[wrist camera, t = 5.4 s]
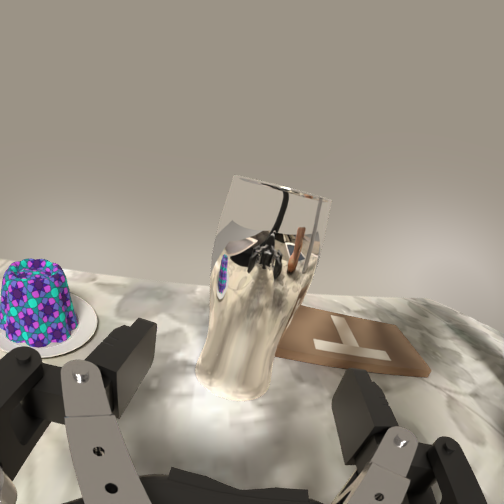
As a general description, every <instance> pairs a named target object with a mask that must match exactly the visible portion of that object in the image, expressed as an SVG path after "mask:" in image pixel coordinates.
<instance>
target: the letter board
mask: <svg viewBox="0 0 504 504" xmlns="http://www.w3.org/2000/svg"><path fill="white" fill-rule="evenodd" d="M275 356H276V357H281V358H286V359H291V360H296V361H302V362H307V363H313V364H319V365H324V366H331V367H337V368H344V369H348V368H356V369H363V370H366V371H367V372H374V373H383V374H392V375H403V376H415V377H428V376H429V374H430V372H431V369H430V368H429V366H428V365H427V364H426V363H425V361H424V360H423V359H422V357H421V356H420V355H419V354H418V352H417V351H416V350H415V348H414V347H413V346H412V345H411V343H410V342H409V341H408V340H407V338H406V337H405V336H404V335H403V333H402V332H401V331H400V330H399V329H398V327H397V326H396V325H392V324H387V323H382V322H377V321H372V320H367V319H362V318H357V317H352V316H347V315H342V314H338V313H333V312H329V311H324V310H319V309H315V308H310V307H306V306H302V305H300V307H299V309H298V311H297V313H296V314H295V316H294V318H293V320H292V322H291V323H290V325H289V327H288V329H287V330H286V332H285V334H284V336H283V338H282V340H281V342H280V344H279V346H278V348H277V351H276V354H275Z"/></svg>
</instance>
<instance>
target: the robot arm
mask: <svg viewBox="0 0 504 504" xmlns="http://www.w3.org/2000/svg"><path fill="white" fill-rule="evenodd" d="M156 332H157V324H156V323H154V322H151V321H148V320H145V319H142V318H138V319H137V320H136V321H135V322H134V323H133V324H132V326H131V327H129V326H126V325H123V326H121V327H118V328H116V329H114V330H113V331H112V332H111V333H110V334H109V335H108V337H106V338H105V339H104V340H103V342H101V343H100V344H99V345H98V346H97V347H96V348H95V350H94V351H93V352H92V353H91V354H90V355H89V356H88V357H87V358H86V359H85V360H73V361H69V362H67V363H66V364H65V365H64V366H63V367H58V366H53V365H49V364H45V363H42V359H41V355H40V354H39V352H38V351H37V350H35V349H33V348H31V347H24V346H22V347H17V348H14V349H12V350H11V351H10V352H8V353H7V354H6V355H5V356H4V357H3V358H2V359H0V504H16V501H17V490H16V487H15V485H14V484H13V482H12V481H13V480H14V478H15V476H16V475H17V473H18V472H19V470H20V468H21V467H22V465H23V464H24V462H25V460H26V459H27V457H28V456H29V454H30V453H31V451H32V450H33V448H34V447H35V445H36V443H37V442H38V440H39V439H40V437H41V436H42V435H43V433H44V432H45V430H46V429H47V427H48V426H49V424H50V423H51V421H52V422H56V423H60V424H64V425H65V426H66V431H67V437H68V442H69V447H70V452H71V456H72V461H73V465H74V469H75V473H76V476H77V480H78V484H79V487H80V490H81V494H82V498H79V499H76V500H73V501H70V502H66V503H63V504H323V503H321V502H319V501H316V500H313V499H309V497H308V490H303V489H287V488H266V489H253V490H239V489H236V488H233V487H231V486H228V485H226V484H223V483H221V482H218V481H216V480H214V479H211V478H209V477H207V476H203V475H199V474H195V473H191V472H187V471H184V470H180V469H177V468H173V467H171V470H170V473H169V475H163V474H153V475H144V476H138V474H137V472H136V470H135V467H134V465H133V462H132V460H131V458H130V455H129V453H128V450H127V447H126V445H125V442H124V440H123V437H122V434H121V431H120V428H119V425H118V423H117V420H116V418H118V419H120V417H121V415H122V414H123V412H124V410H125V409H126V407H127V405H128V404H129V402H130V400H131V399H132V397H133V395H134V394H135V392H136V390H137V389H138V387H139V385H140V384H141V382H142V380H143V379H144V377H145V375H146V374H147V372H148V370H149V369H150V367H151V365H152V362H153V359H154V353H155V342H156ZM388 405H389V404H388V402H387V400H386V399H385V395H384V393H383V391H382V389H381V388H380V387H379V386H378V385H377V384H376V383H375V382H372V381H371V379H370V377H369V374H368V372H367V371H366V370H363V369H356V368H348V369H347V370H346V372H345V374H344V376H343V378H342V380H341V382H340V384H339V386H338V388H337V390H336V392H335V394H334V396H333V399H332V410H333V415H334V419H335V423H336V427H337V432H338V436H339V440H340V445H341V449H342V454H343V458H344V463H345V465H356V467H357V469H356V470H355V471H354V472H353V474H352V475H351V477H350V478H349V479H348V481H347V482H346V484H345V485H344V487H343V488H342V489H341V491H340V492H339V493H338V495H337V496H336V497H335V499H334V500H333V501H332V502H331V504H436V501H435V497H434V494H433V491H432V489H431V486H432V485H433V484H434V483H436V482H438V485H439V488H440V490H441V493H442V500H441V503H440V504H487V502H486V500H485V497H484V495H483V493H482V490H481V488H480V486H479V484H478V481H477V479H476V477H475V475H474V473H473V471H472V469H471V467H470V465H469V463H468V461H467V459H466V457H465V455H464V453H463V451H462V449H461V447H460V445H459V444H458V443H457V442H456V441H455V440H454V439H452V438H450V437H439V438H438V439H437V440H436V441H435V442H434V443H433V445H429V444H423V443H419V442H418V441H417V438H416V436H415V435H414V434H413V433H412V432H411V431H410V430H408V429H406V428H404V427H399V425H398V423H397V421H396V419H395V417H394V415H393V412H392V410H391V408H390V406H388Z"/></svg>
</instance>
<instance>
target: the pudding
mask: <svg viewBox="0 0 504 504" xmlns="http://www.w3.org/2000/svg"><path fill="white" fill-rule="evenodd" d="M75 313H76V314H75ZM76 315H77V317H78V319H79V326H78V329H77V331H76V333H75V334H74V335H73V336H72V337H71V338H70V339H68V338H69V337H70V331H71V330H73V329H75V328H77V325H78V321H77V318H76ZM0 328H1V329H3V330H5V331H6V337H7V338H8V339H9V340H11V341H13V342H16V343H21V342H25V343H26V344H28V345H29V346H31V347H45V346H47V345H48V344H49V343H51V342H59V343H60V342H63V341H65V340H67V339H68V340H67V341H65V342H63V343H61V344H58V345H55V346H52V347H47V348H33V349H35V350H37V351H38V352H39V354H40V355H41V358H43V357H52V356H57V355H61V354H64V353H67V352H70V351H72V350H74V349H76V348H78V347H80V346H82V345H83V344H84V343H85V342H87V341H88V340H89V339H90V338H91V336H92V335H93V334H94V332H95V330H96V328H97V315H96V313H95V311H94V309H93V308H92V307H91V305H90V304H89V303H87V302H86V301H85V300H84V299H82V298H80V297H79V296H77V295H75V294H72V293H70V292H69V288H68V283H67V279H66V276H65V274H64V272H63V270H62V268H61V267H60V266H59V265H58V264H56V263H51V262H49V261H48V260H45V259H37V260H34V259H24V260H22V261H19V262H14V263H12V264H11V265H10V266H9V268H8V269H7V270H6V272H5V274H4V277H3V281H2V289H1V294H0ZM6 337H4V335H3V334H2V333H1V331H0V349H1V350H3V351H5V352H10V351H11V350H12V349H14V348H17V347H22V346H20V345H17V344H15V343H13V342H11V341H9V340H8V339H7V338H6Z"/></svg>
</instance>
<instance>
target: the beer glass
mask: <svg viewBox="0 0 504 504" xmlns="http://www.w3.org/2000/svg"><path fill="white" fill-rule="evenodd" d="M331 203H332V200H330V199H327V198H324V197H320V196H317V195H314V194H310V193H307V192H303V191H299V190H296V189H292V188H289V187H285V186H281V185H277V184H273V183H269V182H265V181H260V180H257V179H252V178H248V177H243V176H239V175H233V180H232V183H231V186H230V189H229V192H228V195H227V198H226V201H225V204H224V207H223V211H222V214H221V217H220V221H219V225H218V229H217V233H216V237H215V242H214V247H213V253H212V262H211V273H210V309H209V327H208V334H207V338H206V342H205V345H204V347H203V349H202V352H201V354H200V356H199V358H198V361H197V363H196V367H195V373H196V377H197V379H198V381H199V382H200V384H201V385H202V386H203V387H204V388H205V389H206V390H208V391H209V392H211V393H212V394H214V395H216V396H218V397H221V398H224V399H227V400H232V401H249V400H254V399H257V398H259V397H261V396H262V395H264V394H265V393H266V391H267V390H268V388H269V386H270V382H271V375H272V366H273V361H274V357H275V354H276V351H277V348H278V346H279V344H280V342H281V340H282V338H283V336H284V334H285V332H286V330H287V329H288V327H289V325H290V323H291V322H292V320H293V318H294V316H295V314H296V313H297V311H298V309H299V307H300V305H301V303H302V301H303V299H304V297H305V295H306V293H307V291H308V289H309V286H310V284H311V282H312V279H313V276H314V274H315V271H316V268H317V265H318V262H319V258H320V254H321V250H322V247H323V242H324V237H325V233H326V227H327V222H328V216H329V212H330V207H331Z"/></svg>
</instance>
